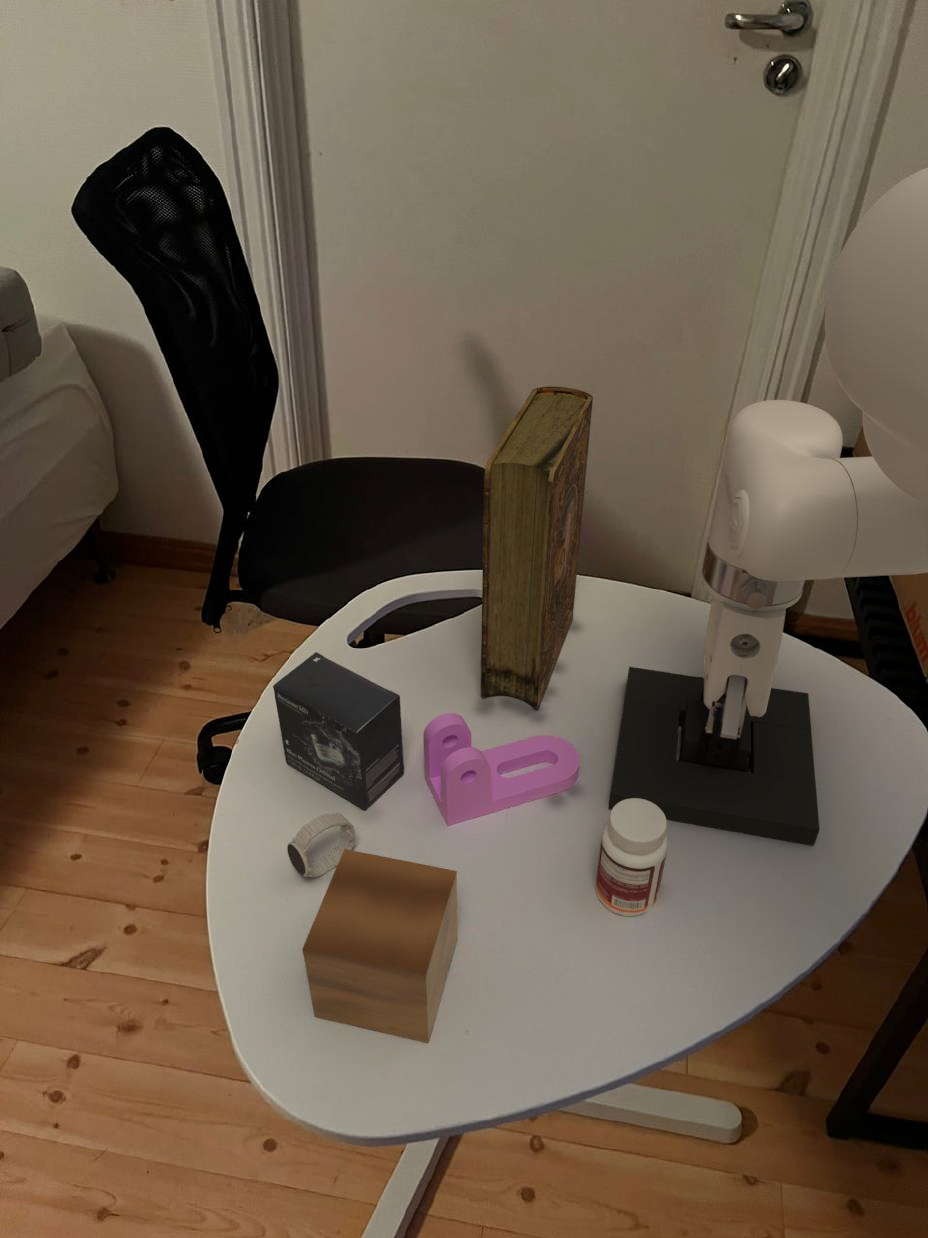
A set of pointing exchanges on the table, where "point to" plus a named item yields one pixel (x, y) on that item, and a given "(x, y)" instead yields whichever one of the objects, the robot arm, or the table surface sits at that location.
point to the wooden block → (383, 945)
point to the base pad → (713, 796)
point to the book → (532, 541)
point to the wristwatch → (311, 831)
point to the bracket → (491, 770)
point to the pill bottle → (632, 857)
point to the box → (340, 729)
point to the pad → (692, 729)
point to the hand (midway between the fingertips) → (715, 737)
